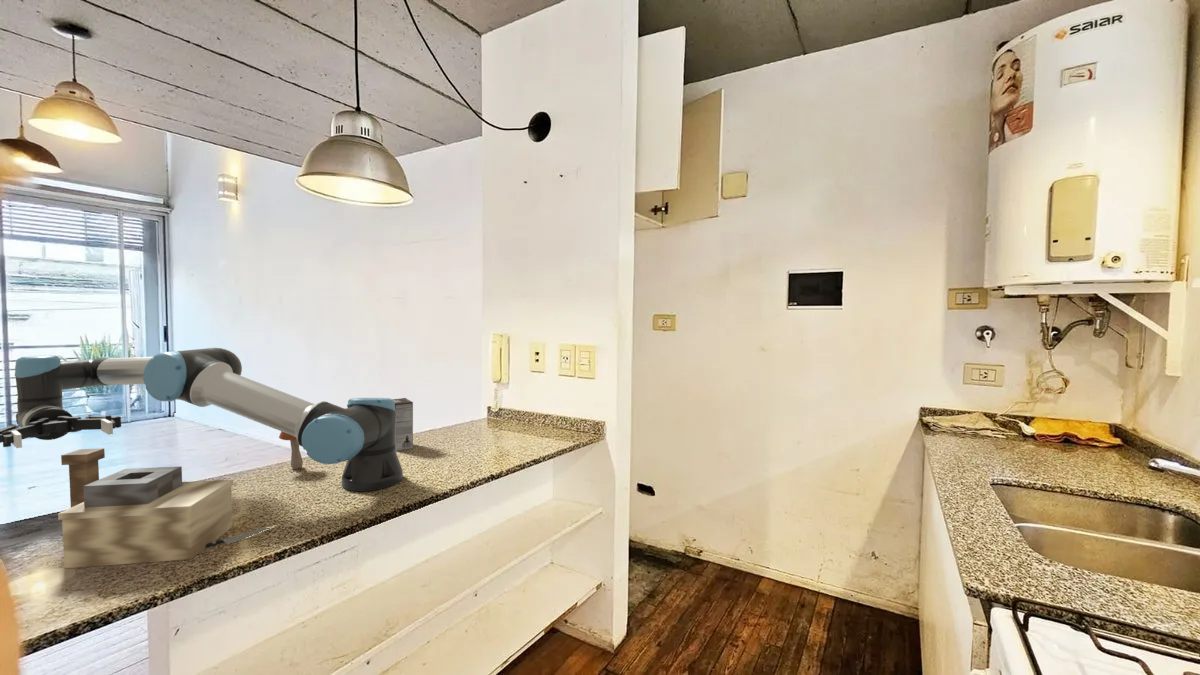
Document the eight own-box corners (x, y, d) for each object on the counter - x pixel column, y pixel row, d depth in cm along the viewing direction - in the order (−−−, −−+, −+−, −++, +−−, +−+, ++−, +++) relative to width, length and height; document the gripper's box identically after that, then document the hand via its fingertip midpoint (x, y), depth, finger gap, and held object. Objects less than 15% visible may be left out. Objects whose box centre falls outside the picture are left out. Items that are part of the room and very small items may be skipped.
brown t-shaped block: (107, 526, 105) (104, 448, 104) (90, 536, 100) (86, 454, 99) (83, 528, 104) (79, 449, 103) (65, 537, 99) (61, 455, 99)
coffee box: (386, 445, 170) (386, 399, 169) (405, 442, 174) (405, 397, 173) (394, 451, 163) (394, 403, 162) (414, 448, 167) (413, 401, 166)
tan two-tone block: (234, 526, 106) (232, 461, 105) (191, 559, 91) (189, 485, 91) (123, 533, 102) (120, 465, 101) (60, 569, 87) (57, 491, 87)
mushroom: (285, 475, 138) (283, 422, 138) (275, 468, 144) (274, 418, 143) (315, 468, 144) (314, 418, 144) (305, 462, 150) (304, 414, 149)
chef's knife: (294, 526, 107) (288, 522, 109) (294, 521, 107) (288, 517, 109) (183, 561, 92) (178, 555, 93) (183, 556, 91) (178, 550, 93)
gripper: (120, 427, 129) (144, 439, 117) (-35, 449, 108) (-25, 466, 96) (118, 399, 129) (142, 408, 117) (-37, 416, 108) (-27, 428, 96)
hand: (67, 434), depth 107 cm, fingers open, 13 cm apart
